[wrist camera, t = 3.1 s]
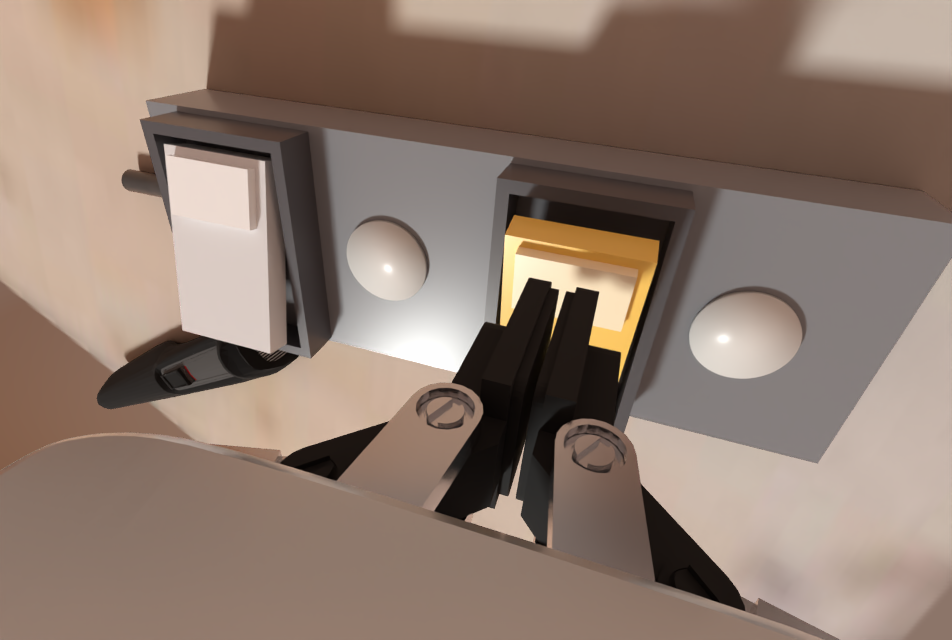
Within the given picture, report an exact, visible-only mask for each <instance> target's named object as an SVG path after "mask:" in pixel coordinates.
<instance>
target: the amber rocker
mask: <svg viewBox="0 0 952 640" xmlns="http://www.w3.org/2000/svg"><path fill="white" fill-rule="evenodd" d="M658 251H659V241H658V240H652V239H646V238H641V237H635V236H630V235H624V234H618V233H613V232H607V231H601V230H596V229H590V228H585V227H579V226H573V225H568V224H562V223H556V222H551V221H545V220H540V219H534V218H528V217H523V216H517V215H514V216H513V219H512V221H511V223H510V225H509V227H508V229H507V231H506V233H505V242H504V261H503V280H502V299H501V318H500V325H503V326H506V325H507V323H508V321H509V319H510V317H511V315H512V313H513V310H514V308H515V306H516V304H517V302H518V300H519V298H520V295H521V293H522V291H523V289H524V287H525V285H526V283H527V280H528V279H529V277H530V278H535V279H540V280H545V281H550V282H552V287H551V288H554V289H559V296H558V301H557V307H556V312H555V318H554V323H553V329H552V334H553V331H554V328H555V325H556V321H557V318H558V315H559V312H560V309H561V306H562V303H563V300H564V296H565V293H566V291H569V292H574V293H575V291H576V287H580V288H584V289H589V290H594V291H599V297H598V302H597V307H596V312H595V316H594V321H593V326H592V331H591V336H590V341H589V345H592V346H596V347H601V348H605V349H609V350H614V351H618V352H621V362H620V371H619V379H620V376H621V373H622V370H623V366H624V363H625V360H626V357H627V354H628V351H629V348H630V345H631V342H632V339H633V336H634V333H635V330H636V327H637V324H638V321H639V318H640V315H641V311H642V308H643V305H644V302H645V299H646V296H647V293H648V290H649V287H650V284H651V281H652V278H653V275H654V272H655V269H656V266H657V261H658ZM552 334H551V337H552ZM618 382H619V380H618Z"/></svg>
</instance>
